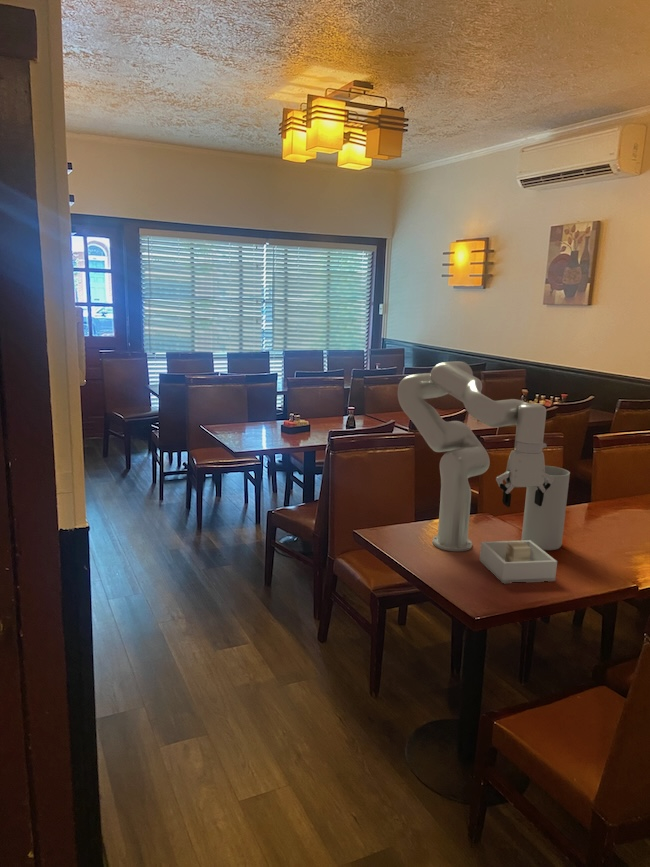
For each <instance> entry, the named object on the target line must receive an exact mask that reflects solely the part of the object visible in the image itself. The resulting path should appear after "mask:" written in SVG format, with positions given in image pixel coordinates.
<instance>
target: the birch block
mask: <svg viewBox="0 0 650 867" xmlns="http://www.w3.org/2000/svg"><path fill="white" fill-rule="evenodd" d="M520 541H521V542H507V545H506V556H505V562H519V561H529V559H530V550H531V548H530V547H529V546H528V545H526V544H525V543H524V542H523V541H522V540H520Z"/></svg>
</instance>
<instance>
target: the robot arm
mask: <svg viewBox="0 0 650 867" xmlns="http://www.w3.org/2000/svg"><path fill="white" fill-rule="evenodd" d="M397 387H398V388H397V400H398V403H399V406H400V407H401V410H402V411H403V412H404V414H405V415H406V416H407V417H408V418H409V420H411V423H413V424H414V426H415V428H416V429H417V431H418V432H419V434H420V435H421V436H422V438H423V439H424V441H425V443H426V444H427V445H428V447H429V448H430V449H431V450H432V451H433V452H435V453H444V454H443V455H442V456H441V458H440V461H439V474H440V498H439V501H440V503H439V513H438V514H439V515H438V528H437V529H438V530H437V535H434V537H432V544H433V545H434V546H435V547H436V548H438V549H439V550H440V549H441V550H443V551H449V552H465V551H468V550H470V549H472V546H473V542H472V540H470V539H469V537H468V536H469V526H470V515H471V514H470V513H471V502H472V501H471V500H472V490H471V485H470V483H469V478H472V477H476V476H480V475H483V474H484V473H486V472H487V471H488V469H489V468H490V465H491V464H490V462H491V461H490V455H489V454H488V451H487V450H486V448H485V447H484V446H483V444H482V443H481V441H480V440H479V439H478V437H477V436H476V435H475V434H474V432H473V431H472V429H471V428H470V427H469V426H468V425H467V424H466V423H464V422H462V421H460V420H451V421H450V420H449V421H446V420H444V419H443V417H442V416H441V415H440V414H439V412H438V411H437V409H436V408H435V407H434V406H432V405H431V404H430V403H428V402H427V401H426V399H429V400H430V399H435V398H439V397H440V398H441V397H443V396H446V395H450V396H452V397H454V398H455V399H456V400H458V401H460V402H462V403H463V406H464V407H465V409H466V412H468V414H469V415H470V416H471V417H472V418H474V419H476V420H477V421H479V422H481V423H483V424H485V425H486V426H488V427H492V428H502V427H507V426H509V427H510V426H516V427H515V428H516V429H515V438H514V448H513V449H514V450H513V449H512V450H511V451H510V454H509V456H508V459H507V464H506V470H505V472H504V473H502V474H500V475H497V476H496V477H495V481H496V483H497V486H498V487H499V488H500V489H501V491H502V503H503V505H505V507H507V508H509V507H511V502H512V493H511V491H513V489H514V488H527V487H537V489H538V490H536V492H535V501H534V503H535V504H537V505H538V506H542V502H543V497H544V493H545V492H546V490H547V489H548V488H549V487H550V486H551V483H552V482H553V480H554V477H552V476H551V475H549V474H547V473H545V466H546V463H545V462H546V461H545V454H544V452H543V450H544V449H547V447H548V446H547V445H548V444H547V443H545V442H544V436H545V427H546V418H547V408H546V407H545V406H544V405H543V404H539V403H532V402H531V403H529V402H526V401H524V400H521V399H517V398H516V399H515V398H510V399H509V398H508V399H501V400H500V399H499V400H493V399H491V398H490V397H488V396H486V395H484V394H483V393H482V390H483V383H482V380H480V379H479V378H478V377H476V376H474V373H473V369H472V368H471V366H470V364H468V363H467V362H465V361H462V360H461V361H458V360H457V361H456V360H454V361H443V362H439V363H437V364H436V365H434V366H433V367H432V369H431V370H430V372H425V373H415V374H414V373H413V374H409V375H407V376H404V378H402V379H401V380H400V381H399V384H398V386H397ZM544 477H545V478H547V480H546V482H545V483H544ZM503 481H505V484H504V482H503Z"/></svg>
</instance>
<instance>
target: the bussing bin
mask: <svg viewBox="0 0 650 867" xmlns="http://www.w3.org/2000/svg"><path fill="white" fill-rule="evenodd" d="M521 541H523V542H524V543H525V544H526V545H528V546H529V547H530V548H531V550H530V559H529V561H519V562H505V556H506V545H507V542H521ZM479 552H480V553H479V562H481V564H482V565H483V566H485V568H486V569H487V570H488V571H489V570H490V571H491V572H492V573H493V574H494V575H495V576H496V577H497V578H498V579H499V580H500V581H501V582H502V583H504V584H511V583H510V582H526V583H541V582H543V583H545V582H544V581H548V582H556V576H557V575H556V574H557V568H558V567H557V566H558V560H557V559H555V558H554V557H553V556H551V555H550V554H548V552H546V550H542V549H541V548H540V547H538V546H537V545H536V544H535V543H533V542H532V541H531V540H522V539H521V540H500V541H499V540H498V541H497V540H495V541H481V542H480V550H479ZM491 572H490V573H491ZM492 573H491V574H492ZM493 574H492V575H493ZM494 575H493V576H494ZM495 576H494V577H495ZM496 577H495V578H496ZM497 578H496V579H497ZM498 579H497V580H498ZM499 580H498V581H499ZM500 581H499V582H500ZM501 582H500V583H501ZM502 583H501V584H502Z"/></svg>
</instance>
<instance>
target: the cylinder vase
mask: <svg viewBox="0 0 650 867" xmlns="http://www.w3.org/2000/svg"><path fill="white" fill-rule="evenodd" d="M545 473H547V474H549V475H551V476H552V477H554V480H553V482H552V483H551V486H550V487H549V488H548V489H547V490H546V492H545V493H544V497H543V502H542V506H538V505H537V504H535V503H534V501H535V492H536V490H538V489H537V487H526V489H525V490H526V493H525V503H524V512H523V521H522V533H521V541H522V540H531V541H532V542H533V543H535V544H536V545H537V546H538V547H540V548H541V549H542V550H543V551H555V550H559V549H560V548H561V547H562V544H563V537H564V536H563V535H564V528H565V519H566V509H567V501H568V495H569V494H568V492H569V483H570V476H571V475H570V474H571V471H569V470H567V469H565V468H561V467H558V466H553V465H552V466H551V465H545ZM546 480H547V478H545V477H544V483H545V482H546Z"/></svg>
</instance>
